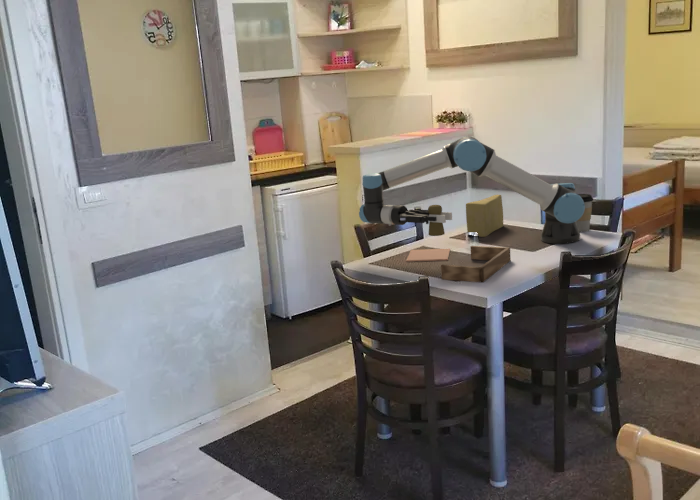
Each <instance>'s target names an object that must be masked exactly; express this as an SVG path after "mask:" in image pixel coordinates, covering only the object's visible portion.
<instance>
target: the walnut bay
mask: <svg viewBox="0 0 700 500" xmlns="http://www.w3.org/2000/svg"><path fill="white" fill-rule="evenodd" d="M469 248H470V260H478V261H479V260H481V261H487V262H485V263H484V264H482V265H481V266H470V265H469V266H468V265H455V264H454V265H453V264H441V265H440V273H441V274H440V275H441V280H447V281H461V282H473V283H484V282H486V281H487V280H488V279H489V278H491V277H492V276H493V275H494V274H495V273H497V272H498V271H499V270H501V269H503V267H504V266H505V265H507V264H508V263H509V262H511V247H508V246H507V247H506V246H505V247H504V246H484V245H471V246H469Z"/></svg>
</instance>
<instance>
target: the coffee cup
mask: <svg viewBox="0 0 700 500" xmlns="http://www.w3.org/2000/svg"><path fill="white" fill-rule="evenodd" d="M577 194H578V195H580V196H581V198H582V199H583V201H584V204H585V210H584V213H583V215H582V217H581V218H580V219H579V220H577V221H576V224H577V227H578V230H579V233H585V232H586V233H587V232H589V231H590V227H591V219H592V209H593V205H592V204H593V201H594V198H593V197H592V194H589V193H577Z"/></svg>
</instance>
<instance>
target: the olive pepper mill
mask: <svg viewBox="0 0 700 500" xmlns="http://www.w3.org/2000/svg"><path fill="white" fill-rule="evenodd" d="M427 210H428V213H429V214H431V215H441V212H443V207H442V205H441V204H431V205H429V206H428V209H427ZM428 235H429V236H430V237H439V236H443V235H445V229H444V223H438V222H429V224H428Z"/></svg>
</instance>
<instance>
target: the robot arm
mask: <svg viewBox="0 0 700 500" xmlns="http://www.w3.org/2000/svg"><path fill="white" fill-rule="evenodd" d="M447 168H449V169H455V168H460V169H461V170H462V171H465V172H470V173H471V174H473V175H475V176H477V177H479V178H480V177H484V176H485V177H487V178H489V179H491V180H493V181H494V182H496V183H498V184H500V185H502V186H504V187H506V188H508V189H509V190H511V191H513V192H515V193H517V194H518V195H521V196H523V197H525V198H527V199H528V200H531V201H532V202H534V203H535V204H538V205H539V208H540V210H541V211H543V212H544V225H543V227H542V231H541V233H540V236H541V237H540V239H541V242H544V243H546V244H555V245H557V244H559V245H560V244H561V245H563V244H572V243H576V242H578V241H580V239H581V232H579V230H578V227H577V224H576V221H577V220H579V219H580V218H581V217H582V215H583V213H584V210H585V204H584V201H583V199H582V198H581V196H580V195H578V194H579V193H576V186H575V184H574V183H573V182H565V183H557V182H556V183H549V182H546V181H545V180H543V179H541V178H539V177H537V176H536V175H534V174H531V173H530V172H528V171H526V170H524V169H522V168H520V167H519V166H517V165H515V164H514V163H511V162H509V161H508V160H505V158H502V157H500V156H498V155H497V154H496V150H495V149H493V148H492V147H490V146H489V145H486V144H484V143H483V142H480V140H478V139H477V138H475V137H472V136H464V137H460V138H459V139H457V140H455V141H452V142H450V143H448V144H446V145H443V147H442V148H441V149H440V150H437V151H435V152H434V151H433V152H431V153H428V154H426V155H423V156H420V157H418V158H415V159H412V160H410V161H406V162H404V163H401V164H399V165H396V166H393V167H391V168H388V169H385V170H383V171H380V172H377V173H366V174H364V175H363V176H362V182H361V183H362V189H363V200H364V203H363V204H362V205H360V207H359V211H358V215H359V219H360V220H361V221H362V222H363V223H368V224H379V225H380V224H383V225H385V224H386V225H388V226H389V227H390V226H392V225H395V226H396V225H397V226H404V225H406V223H417V224H424V223H425V225H429V222H438V223H443V224H445V223H446V222H447V221H453V212H448V211H447V212H446V211H442V212H441V215H431V214H429V213H428V209H420V208H417V209H408V208H407V206H405V205H400V204H397V205H396V204H384V192H383V191H386V190H389V189H391V188H394V187H397V186H400V185H403V184H405V183H407V182H410V181H414V180H416V179H418V178H422V177H424V176H428V175H430V174H433V173H435V172H436V173H437V172H438V171H439V172H440V171H441V170H444V169H447Z"/></svg>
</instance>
